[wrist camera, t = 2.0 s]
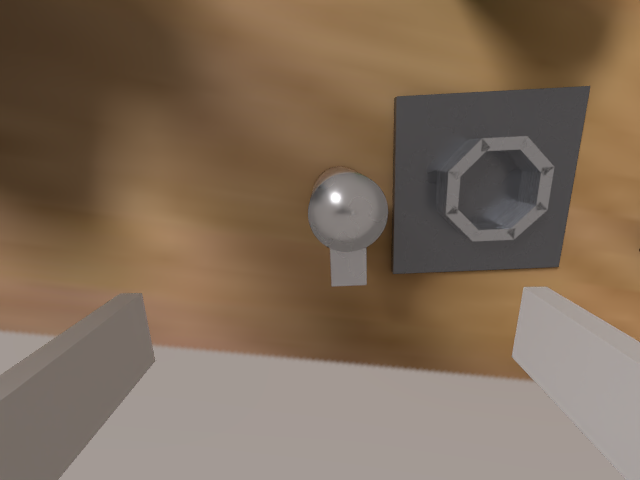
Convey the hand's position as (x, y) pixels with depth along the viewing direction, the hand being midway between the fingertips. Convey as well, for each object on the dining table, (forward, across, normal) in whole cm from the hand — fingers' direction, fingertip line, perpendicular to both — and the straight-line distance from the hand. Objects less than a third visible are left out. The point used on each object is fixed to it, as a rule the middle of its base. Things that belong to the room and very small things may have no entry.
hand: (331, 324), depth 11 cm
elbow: (+19, +1, +1) cm, 19 cm away
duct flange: (+19, +14, +2) cm, 24 cm away
